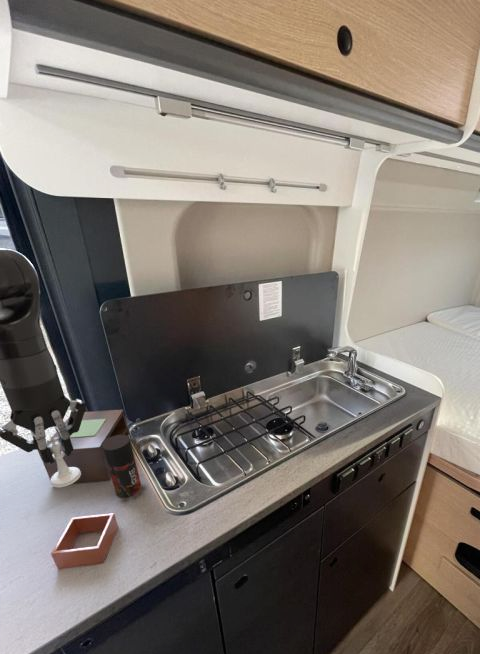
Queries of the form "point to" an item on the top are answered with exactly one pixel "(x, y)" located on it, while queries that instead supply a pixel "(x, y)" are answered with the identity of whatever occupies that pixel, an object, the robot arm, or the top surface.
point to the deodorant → (122, 465)
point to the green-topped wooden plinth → (91, 445)
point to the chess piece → (62, 466)
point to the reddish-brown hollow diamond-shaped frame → (87, 555)
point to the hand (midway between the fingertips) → (58, 457)
